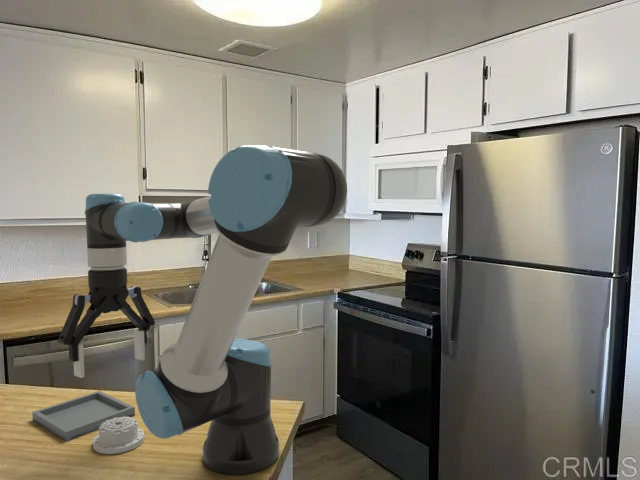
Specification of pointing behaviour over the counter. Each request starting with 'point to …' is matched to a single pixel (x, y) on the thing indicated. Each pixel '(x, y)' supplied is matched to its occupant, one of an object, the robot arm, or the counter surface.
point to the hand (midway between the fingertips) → (111, 367)
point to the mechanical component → (118, 436)
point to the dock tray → (81, 414)
